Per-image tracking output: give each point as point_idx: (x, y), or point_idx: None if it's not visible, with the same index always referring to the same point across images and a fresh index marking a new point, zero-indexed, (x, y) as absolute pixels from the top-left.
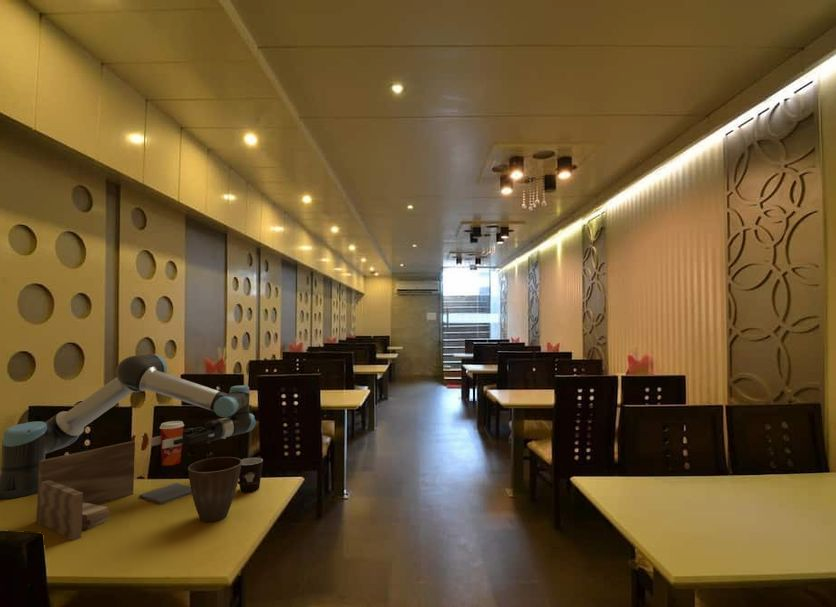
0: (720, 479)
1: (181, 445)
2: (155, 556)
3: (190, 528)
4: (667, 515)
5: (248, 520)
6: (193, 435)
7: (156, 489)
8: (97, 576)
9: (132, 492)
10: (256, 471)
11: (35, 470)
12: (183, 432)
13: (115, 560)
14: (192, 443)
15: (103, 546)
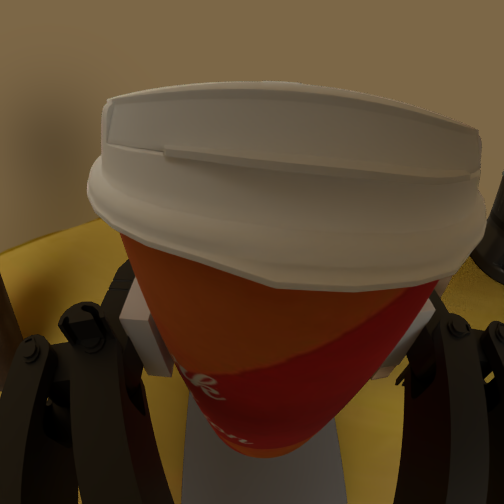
0: None
1: (203, 409)
2: (38, 261)
3: (28, 322)
4: None
5: None
6: (87, 485)
7: (334, 430)
8: (75, 227)
9: (372, 375)
10: None
11: (500, 235)
12: (444, 481)
13: (78, 242)
14: (54, 406)
15: (123, 248)
